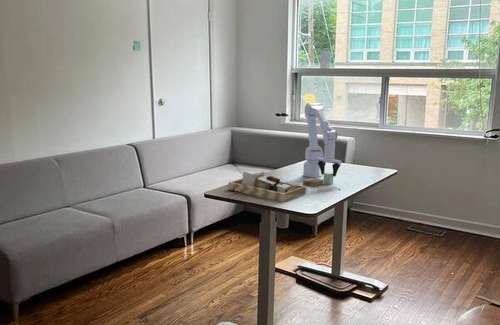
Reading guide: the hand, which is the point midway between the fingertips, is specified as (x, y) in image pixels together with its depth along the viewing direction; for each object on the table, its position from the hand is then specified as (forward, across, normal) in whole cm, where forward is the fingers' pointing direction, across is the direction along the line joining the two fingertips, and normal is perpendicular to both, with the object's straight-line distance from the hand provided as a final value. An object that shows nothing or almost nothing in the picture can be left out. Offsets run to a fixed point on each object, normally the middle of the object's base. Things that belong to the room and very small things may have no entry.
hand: (328, 175), depth 271 cm
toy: (+5, -14, -38) cm, 40 cm away
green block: (+5, 0, 0) cm, 5 cm away
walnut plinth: (+5, -5, -8) cm, 11 cm away
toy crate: (+5, -15, -38) cm, 41 cm away
